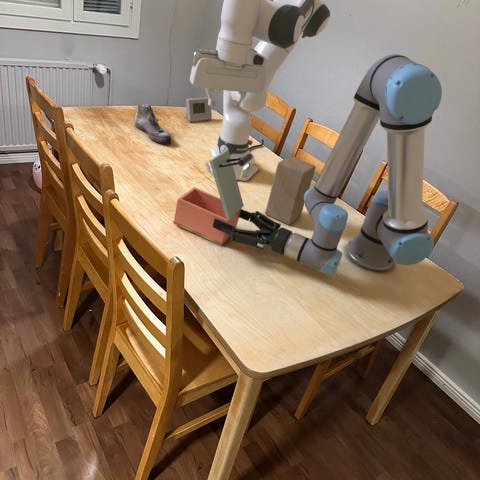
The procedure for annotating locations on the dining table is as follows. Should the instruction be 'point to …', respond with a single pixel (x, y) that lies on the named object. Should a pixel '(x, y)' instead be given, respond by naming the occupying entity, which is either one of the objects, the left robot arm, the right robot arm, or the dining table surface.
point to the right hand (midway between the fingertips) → (222, 215)
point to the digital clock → (198, 109)
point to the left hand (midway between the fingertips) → (223, 106)
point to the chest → (203, 215)
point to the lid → (228, 181)
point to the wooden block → (289, 189)
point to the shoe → (151, 124)
